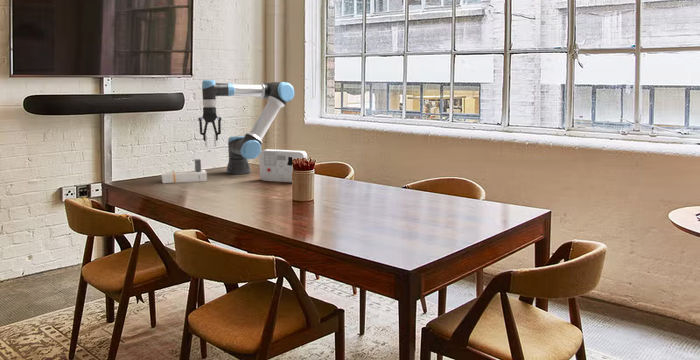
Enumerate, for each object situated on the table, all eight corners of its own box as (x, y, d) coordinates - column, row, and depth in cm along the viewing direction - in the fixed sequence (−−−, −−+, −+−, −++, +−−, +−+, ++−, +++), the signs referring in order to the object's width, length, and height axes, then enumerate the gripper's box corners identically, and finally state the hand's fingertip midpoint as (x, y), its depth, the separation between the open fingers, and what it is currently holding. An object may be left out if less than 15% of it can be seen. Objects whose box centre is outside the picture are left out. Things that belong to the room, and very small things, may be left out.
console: (204, 178, 400) (204, 169, 399) (207, 180, 390) (206, 172, 389) (161, 180, 392) (161, 171, 391) (162, 183, 382) (162, 174, 381)
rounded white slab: (257, 181, 390) (257, 150, 387) (263, 179, 397) (263, 149, 394) (302, 183, 380) (302, 152, 377) (307, 181, 387) (307, 151, 384)
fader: (200, 177, 396) (199, 159, 394) (201, 178, 392) (200, 160, 390) (195, 177, 395) (194, 159, 393) (196, 178, 391) (195, 160, 389)
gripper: (223, 106, 395) (224, 145, 399) (193, 106, 390) (195, 146, 394) (225, 106, 388) (226, 146, 392) (194, 107, 383) (196, 147, 387)
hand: (210, 146), depth 393 cm, fingers open, 4 cm apart
